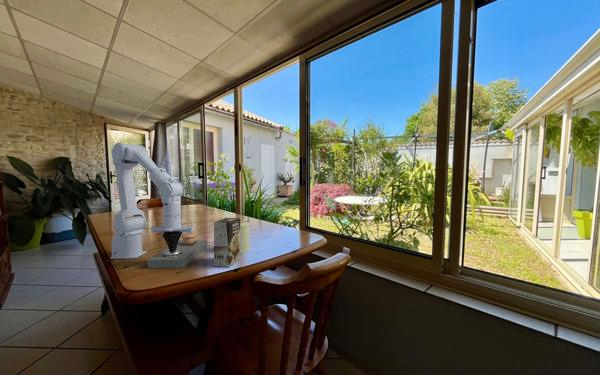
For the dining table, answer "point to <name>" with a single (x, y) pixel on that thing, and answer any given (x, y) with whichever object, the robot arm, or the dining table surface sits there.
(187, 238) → the tan rounded lump
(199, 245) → the console
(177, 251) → the grey plunger
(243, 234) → the can
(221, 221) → the coffee box
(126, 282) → the dining table surface
